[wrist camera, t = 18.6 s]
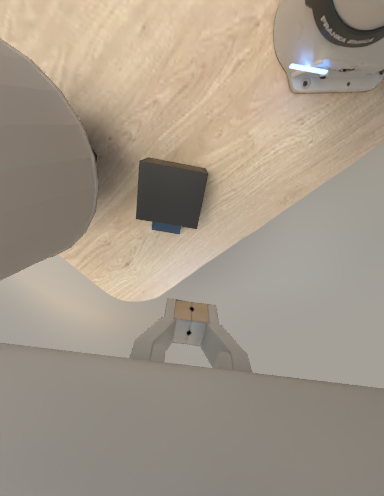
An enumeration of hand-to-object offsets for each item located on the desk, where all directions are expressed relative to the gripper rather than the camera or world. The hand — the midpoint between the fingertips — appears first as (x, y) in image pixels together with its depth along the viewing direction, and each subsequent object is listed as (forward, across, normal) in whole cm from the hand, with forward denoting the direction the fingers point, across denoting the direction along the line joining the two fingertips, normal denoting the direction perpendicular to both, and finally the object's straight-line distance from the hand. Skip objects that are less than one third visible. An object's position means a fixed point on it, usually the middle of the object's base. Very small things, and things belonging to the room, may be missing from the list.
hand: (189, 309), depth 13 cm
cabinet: (+39, +4, +1) cm, 39 cm away
